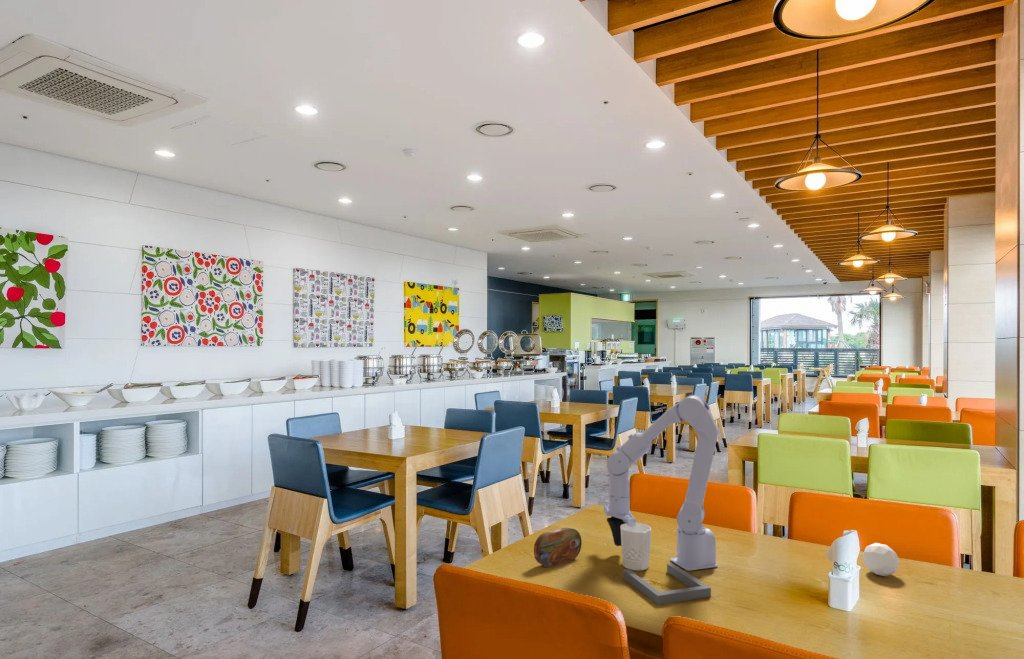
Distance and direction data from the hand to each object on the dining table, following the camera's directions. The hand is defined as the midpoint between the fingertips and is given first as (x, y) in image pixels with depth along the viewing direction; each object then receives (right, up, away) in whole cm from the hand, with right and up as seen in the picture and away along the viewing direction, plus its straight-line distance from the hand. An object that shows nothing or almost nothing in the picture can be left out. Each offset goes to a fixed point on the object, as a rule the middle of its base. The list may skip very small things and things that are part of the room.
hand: (619, 544), depth 158 cm
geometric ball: (+64, -3, -13) cm, 65 cm away
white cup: (+3, -2, -9) cm, 9 cm away
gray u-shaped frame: (+7, -2, -22) cm, 23 cm away
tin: (-17, -3, -6) cm, 19 cm away
